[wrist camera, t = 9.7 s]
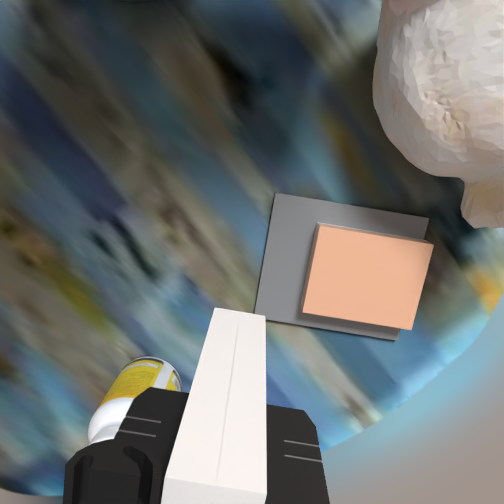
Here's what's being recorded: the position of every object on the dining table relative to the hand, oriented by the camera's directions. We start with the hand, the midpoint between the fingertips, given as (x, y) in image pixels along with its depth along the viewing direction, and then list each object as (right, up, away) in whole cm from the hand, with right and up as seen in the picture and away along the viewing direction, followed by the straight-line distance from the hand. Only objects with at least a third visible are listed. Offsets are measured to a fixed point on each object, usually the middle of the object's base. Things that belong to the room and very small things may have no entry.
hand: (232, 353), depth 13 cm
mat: (+9, +2, +27) cm, 29 cm away
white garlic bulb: (+16, +16, +24) cm, 33 cm away
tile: (+6, +2, +26) cm, 27 cm away
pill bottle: (-10, -10, +31) cm, 34 cm away
